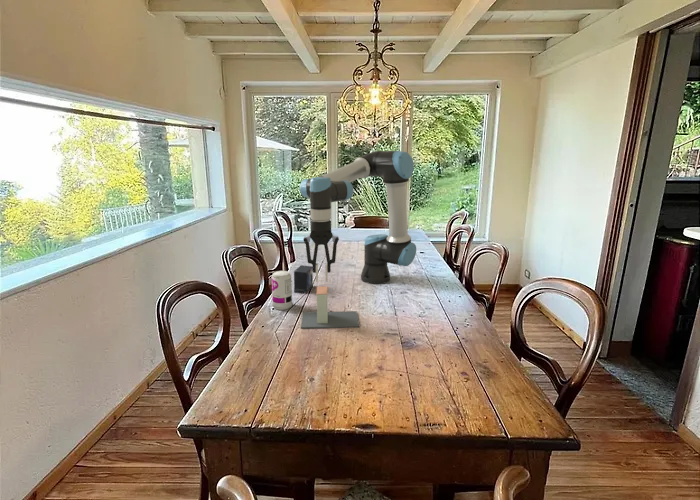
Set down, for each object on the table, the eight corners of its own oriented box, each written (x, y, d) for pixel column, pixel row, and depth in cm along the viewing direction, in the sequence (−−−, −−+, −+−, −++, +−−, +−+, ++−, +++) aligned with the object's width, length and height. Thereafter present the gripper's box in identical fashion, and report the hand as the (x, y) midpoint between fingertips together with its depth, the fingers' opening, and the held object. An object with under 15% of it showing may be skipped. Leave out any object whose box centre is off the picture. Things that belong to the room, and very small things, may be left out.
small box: (307, 293, 187) (306, 272, 184) (293, 292, 188) (293, 271, 185) (313, 286, 197) (313, 265, 194) (300, 285, 198) (300, 264, 195)
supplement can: (276, 311, 166) (274, 277, 162) (270, 305, 173) (268, 271, 170) (294, 308, 170) (293, 274, 166) (288, 301, 177) (287, 269, 173)
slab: (327, 314, 162) (327, 286, 159) (327, 323, 154) (327, 293, 151) (317, 314, 162) (317, 286, 159) (317, 323, 154) (316, 293, 151)
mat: (356, 312, 166) (356, 311, 165) (359, 327, 152) (359, 325, 152) (302, 313, 164) (302, 312, 164) (300, 328, 151) (300, 327, 151)
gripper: (342, 218, 152) (342, 277, 158) (299, 218, 151) (301, 277, 157) (343, 221, 145) (343, 283, 151) (298, 221, 144) (300, 284, 150)
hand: (321, 280), depth 154 cm, fingers open, 3 cm apart
